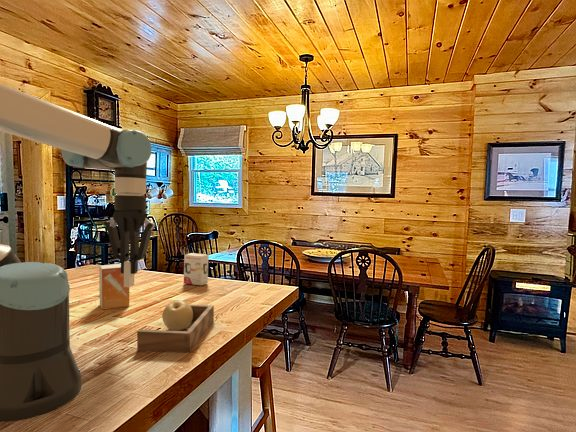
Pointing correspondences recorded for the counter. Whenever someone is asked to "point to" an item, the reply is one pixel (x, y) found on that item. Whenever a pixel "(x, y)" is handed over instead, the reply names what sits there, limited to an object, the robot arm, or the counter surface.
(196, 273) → the ink box
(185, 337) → the trough
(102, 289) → the small box
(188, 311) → the apple
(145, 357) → the counter surface
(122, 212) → the robot arm
